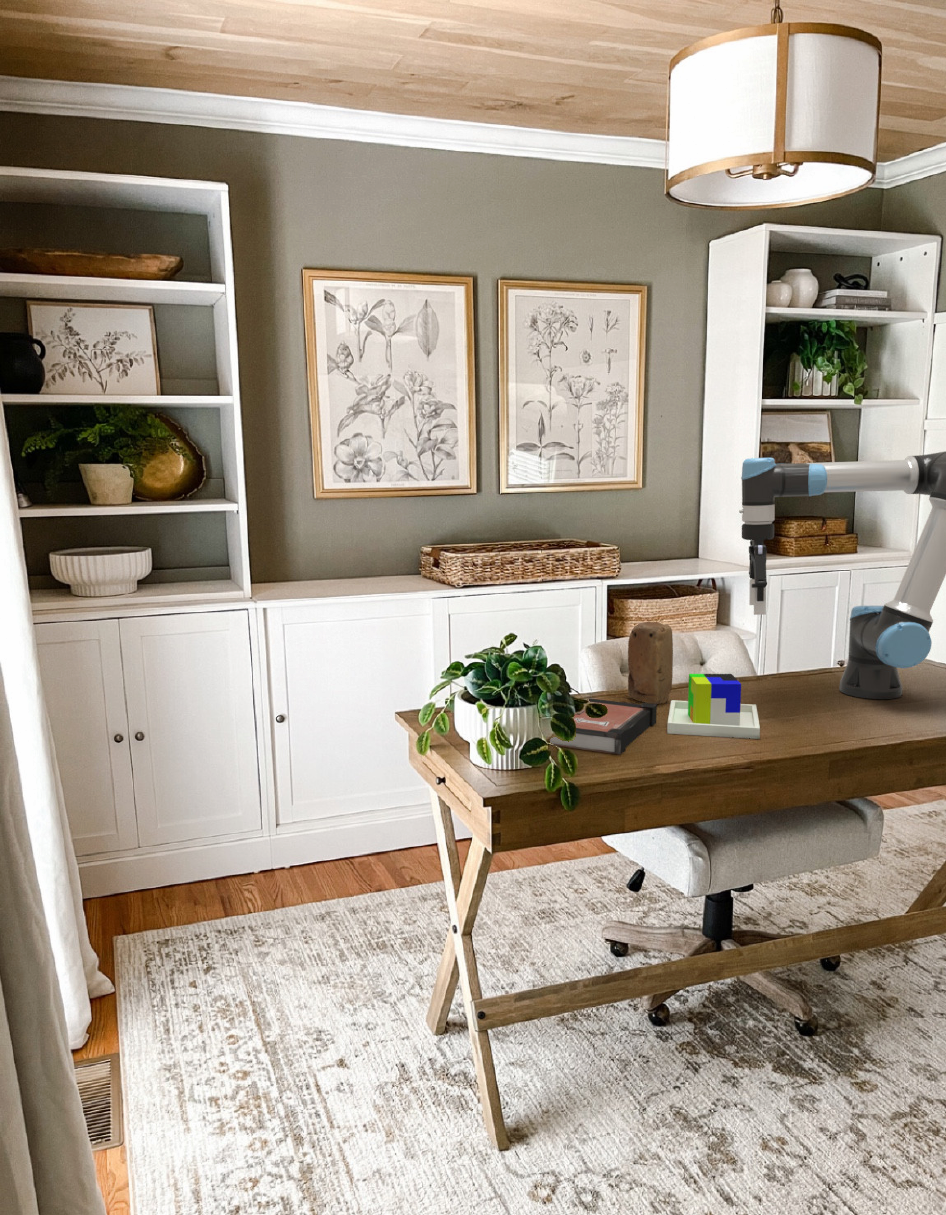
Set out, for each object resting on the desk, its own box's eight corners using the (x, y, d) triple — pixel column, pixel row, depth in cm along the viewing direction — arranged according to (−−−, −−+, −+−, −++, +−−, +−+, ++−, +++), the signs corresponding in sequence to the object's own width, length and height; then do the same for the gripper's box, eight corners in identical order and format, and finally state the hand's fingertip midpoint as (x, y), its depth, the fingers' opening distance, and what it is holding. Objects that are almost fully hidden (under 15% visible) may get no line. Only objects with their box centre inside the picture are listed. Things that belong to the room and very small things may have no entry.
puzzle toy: (739, 726, 216) (741, 684, 215) (695, 726, 217) (696, 684, 215) (730, 714, 226) (731, 673, 225) (687, 714, 227) (688, 673, 225)
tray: (755, 714, 229) (755, 704, 228) (759, 739, 210) (759, 728, 209) (671, 710, 234) (671, 700, 233) (667, 733, 214) (667, 722, 214)
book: (586, 716, 231) (586, 696, 230) (656, 724, 223) (656, 704, 222) (544, 745, 208) (544, 723, 207) (620, 756, 200) (620, 734, 199)
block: (674, 701, 241) (676, 624, 238) (656, 707, 236) (658, 628, 233) (640, 694, 249) (641, 619, 246) (622, 699, 244) (623, 623, 241)
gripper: (738, 518, 241) (738, 601, 245) (745, 527, 217) (745, 618, 221) (769, 518, 240) (768, 601, 243) (779, 526, 216) (778, 618, 219)
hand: (757, 609), depth 232 cm, fingers open, 13 cm apart
